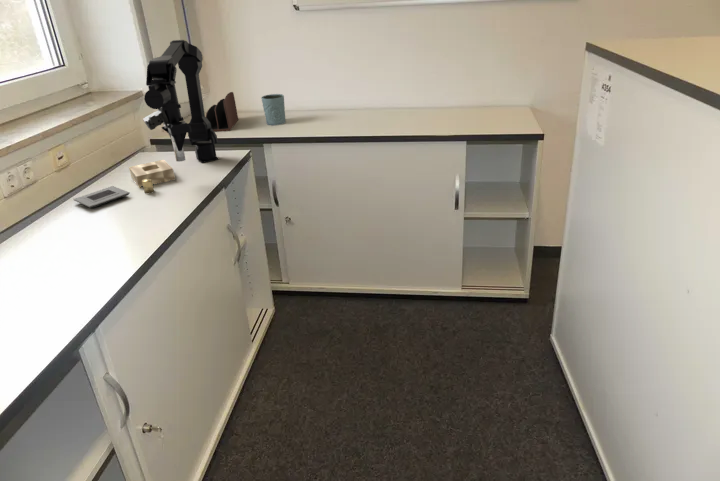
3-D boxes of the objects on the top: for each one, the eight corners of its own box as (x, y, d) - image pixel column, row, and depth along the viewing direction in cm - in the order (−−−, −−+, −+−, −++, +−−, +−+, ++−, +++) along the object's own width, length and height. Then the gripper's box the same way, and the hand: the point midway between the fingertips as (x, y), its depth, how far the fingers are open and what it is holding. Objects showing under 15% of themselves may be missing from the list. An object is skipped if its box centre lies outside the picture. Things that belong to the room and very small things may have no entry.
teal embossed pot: (277, 126, 240) (273, 99, 234) (260, 124, 244) (256, 97, 239) (291, 121, 247) (288, 94, 242) (274, 119, 252) (271, 93, 247)
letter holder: (238, 119, 255) (233, 89, 248) (230, 131, 237) (225, 99, 231) (217, 120, 255) (212, 90, 249) (207, 132, 237) (201, 100, 231)
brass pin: (153, 189, 178) (150, 177, 176) (155, 192, 176) (152, 180, 174) (143, 191, 176) (140, 180, 175) (145, 194, 174) (142, 182, 172)
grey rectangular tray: (114, 191, 179) (112, 185, 178) (131, 198, 173) (129, 191, 172) (75, 205, 170) (73, 198, 169) (91, 212, 164) (89, 205, 163)
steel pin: (184, 157, 179) (177, 128, 175) (186, 160, 177) (180, 130, 173) (175, 159, 178) (168, 130, 173) (177, 162, 176) (171, 132, 171)
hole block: (166, 170, 194) (163, 159, 192) (175, 179, 185) (172, 168, 183) (131, 177, 189) (128, 167, 187) (139, 187, 180) (136, 176, 178)
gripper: (135, 100, 172) (146, 148, 179) (149, 111, 158) (160, 162, 165) (170, 95, 177) (180, 141, 184) (186, 104, 163) (196, 154, 170)
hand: (178, 149), depth 176 cm, fingers closed on steel pin, 3 cm apart
